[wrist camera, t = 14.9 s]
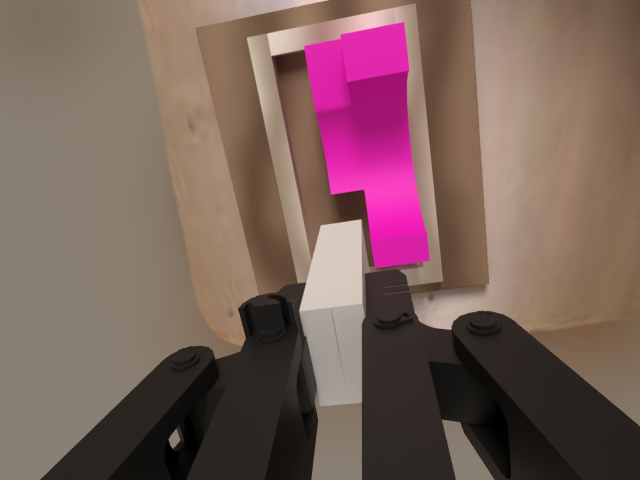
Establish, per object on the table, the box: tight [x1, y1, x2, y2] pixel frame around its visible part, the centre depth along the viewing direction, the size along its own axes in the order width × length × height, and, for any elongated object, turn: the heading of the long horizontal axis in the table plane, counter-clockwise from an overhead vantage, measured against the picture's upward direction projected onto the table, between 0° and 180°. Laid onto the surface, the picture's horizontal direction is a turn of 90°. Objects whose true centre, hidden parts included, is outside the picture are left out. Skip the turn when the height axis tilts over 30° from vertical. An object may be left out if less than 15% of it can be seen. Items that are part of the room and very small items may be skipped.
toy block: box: [304, 22, 430, 268], centre depth 33 cm, size 15×6×8 cm, turn 10°
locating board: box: [195, 0, 489, 295], centre depth 37 cm, size 20×24×3 cm
